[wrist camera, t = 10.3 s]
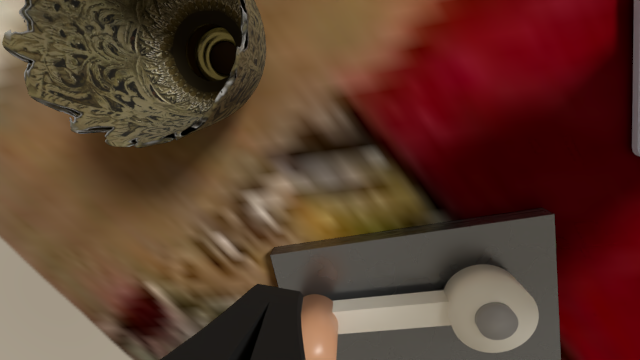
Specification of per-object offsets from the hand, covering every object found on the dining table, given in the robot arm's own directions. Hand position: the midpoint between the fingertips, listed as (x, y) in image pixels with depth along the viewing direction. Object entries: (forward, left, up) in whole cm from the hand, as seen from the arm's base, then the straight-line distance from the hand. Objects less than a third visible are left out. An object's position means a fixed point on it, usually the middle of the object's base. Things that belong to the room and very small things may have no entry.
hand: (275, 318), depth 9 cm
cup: (+3, -9, -10) cm, 14 cm away
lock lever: (-4, +6, -8) cm, 11 cm away
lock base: (-4, +10, -9) cm, 14 cm away
